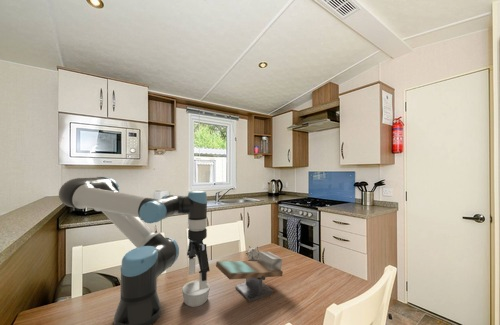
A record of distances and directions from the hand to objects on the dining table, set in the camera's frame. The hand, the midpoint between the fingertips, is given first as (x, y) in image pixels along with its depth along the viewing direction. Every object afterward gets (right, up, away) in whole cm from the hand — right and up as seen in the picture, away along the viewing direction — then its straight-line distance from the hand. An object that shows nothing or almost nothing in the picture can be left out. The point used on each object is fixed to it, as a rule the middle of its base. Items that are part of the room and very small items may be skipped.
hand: (197, 280), depth 88 cm
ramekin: (0, -8, 0) cm, 8 cm away
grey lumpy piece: (+24, -9, +38) cm, 46 cm away
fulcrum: (+23, -8, +7) cm, 26 cm away
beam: (+21, 0, +6) cm, 22 cm away
